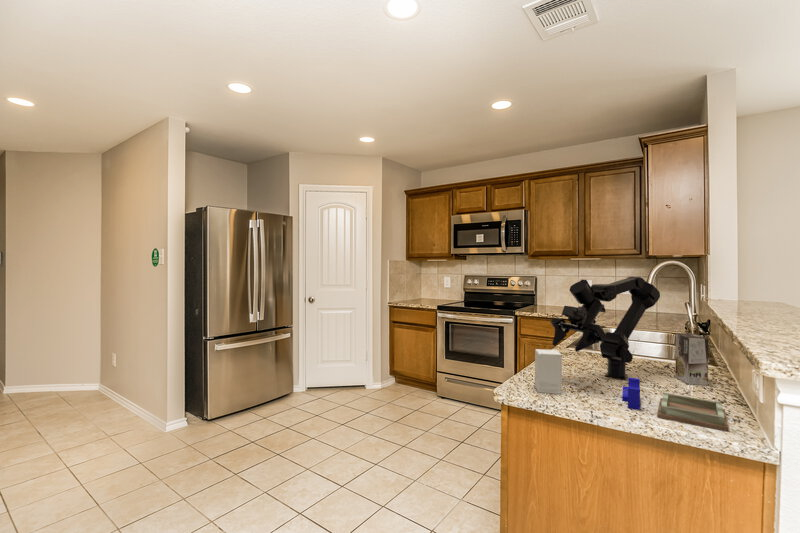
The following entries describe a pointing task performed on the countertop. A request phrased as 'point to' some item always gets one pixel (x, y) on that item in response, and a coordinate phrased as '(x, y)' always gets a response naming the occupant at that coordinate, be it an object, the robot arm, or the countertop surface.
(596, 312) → the robot arm
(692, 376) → the coffee box
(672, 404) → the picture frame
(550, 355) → the supplement box
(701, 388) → the countertop surface
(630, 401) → the cable clip
